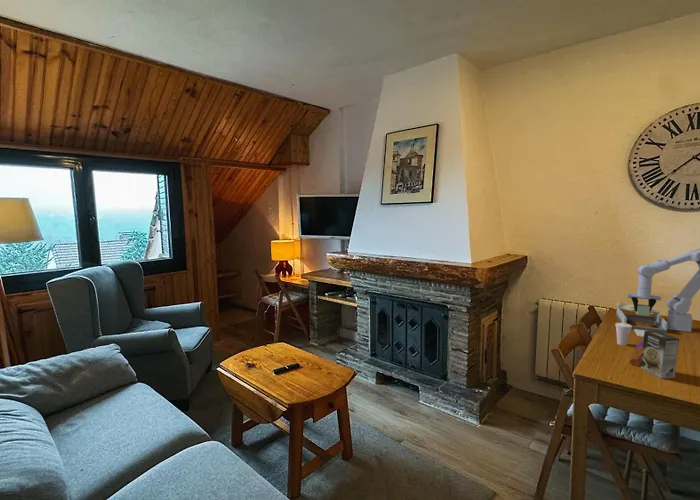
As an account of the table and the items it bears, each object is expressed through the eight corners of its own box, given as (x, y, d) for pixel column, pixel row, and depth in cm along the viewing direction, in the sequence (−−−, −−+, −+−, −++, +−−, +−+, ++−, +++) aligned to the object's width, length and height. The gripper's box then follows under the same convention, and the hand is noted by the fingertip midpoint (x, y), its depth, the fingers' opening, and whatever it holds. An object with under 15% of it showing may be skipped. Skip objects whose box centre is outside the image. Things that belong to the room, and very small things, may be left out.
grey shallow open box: (654, 319, 208) (655, 310, 207) (667, 333, 186) (668, 322, 186) (616, 315, 217) (616, 306, 216) (624, 327, 195) (624, 318, 194)
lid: (653, 307, 211) (653, 303, 211) (659, 313, 200) (659, 309, 199) (616, 304, 219) (616, 300, 219) (620, 309, 208) (620, 305, 208)
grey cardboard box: (639, 368, 148) (643, 330, 146) (654, 367, 148) (657, 329, 146) (660, 379, 139) (664, 338, 137) (676, 378, 139) (680, 338, 137)
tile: (658, 333, 186) (658, 332, 186) (663, 339, 178) (663, 338, 178) (634, 330, 191) (634, 329, 191) (638, 336, 182) (638, 335, 182)
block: (646, 313, 199) (647, 304, 198) (649, 316, 194) (649, 307, 194) (635, 312, 201) (636, 303, 200) (637, 315, 197) (638, 306, 196)
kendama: (625, 354, 152) (636, 339, 165) (627, 368, 152) (639, 352, 165) (642, 356, 147) (653, 340, 160) (645, 370, 148) (655, 353, 160)
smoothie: (628, 342, 174) (630, 314, 173) (632, 347, 169) (634, 318, 167) (612, 340, 177) (614, 313, 175) (615, 345, 171) (617, 317, 170)
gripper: (659, 287, 196) (657, 311, 197) (626, 284, 203) (624, 308, 204) (663, 290, 190) (660, 314, 191) (629, 287, 197) (627, 311, 198)
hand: (642, 311), depth 197 cm, fingers closed on block, 5 cm apart
